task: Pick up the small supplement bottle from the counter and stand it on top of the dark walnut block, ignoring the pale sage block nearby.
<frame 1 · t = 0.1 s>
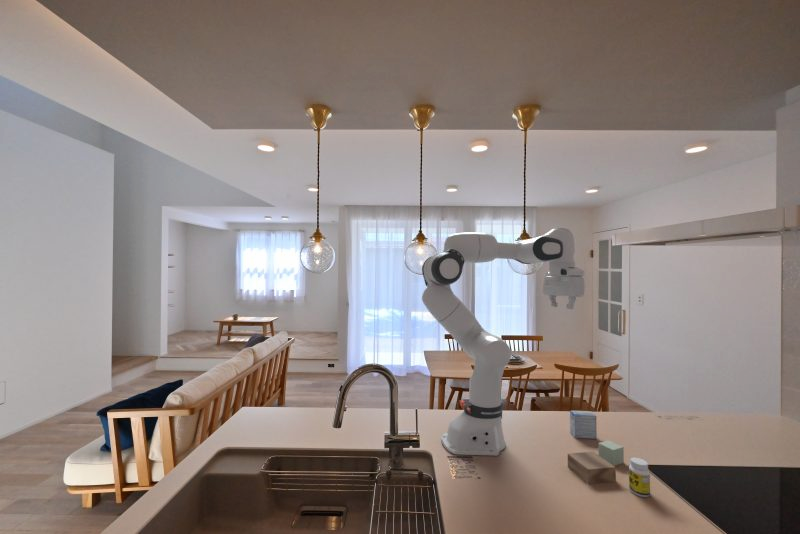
hand: (561, 308, 128), 48 cm above the counter, fingers open, 8 cm apart
supplement bottle: (639, 492, 93), on the counter
medicine box: (583, 436, 127), on the counter
walnut block: (590, 473, 102), on the counter
sage block: (611, 460, 110), on the counter
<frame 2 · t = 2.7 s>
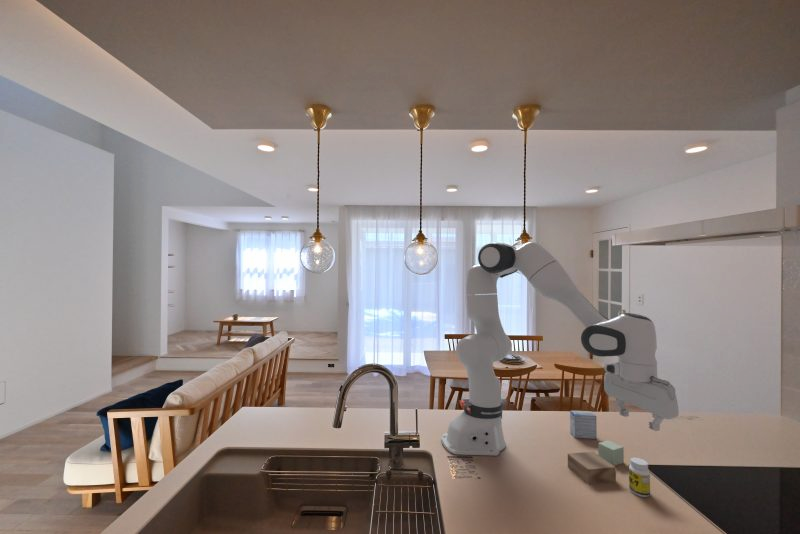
hand: (638, 422, 94), 19 cm above the counter, fingers open, 8 cm apart
nothing on the counter moved.
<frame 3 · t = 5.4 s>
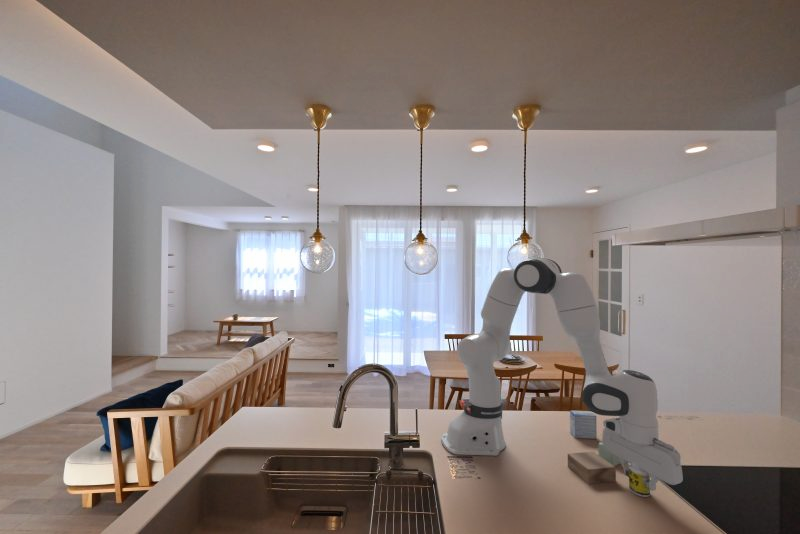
hand: (639, 482, 93), 3 cm above the counter, fingers closed on supplement bottle, 5 cm apart
supplement bottle: (639, 492, 93), on the counter, touching gripper
everything else where it was.
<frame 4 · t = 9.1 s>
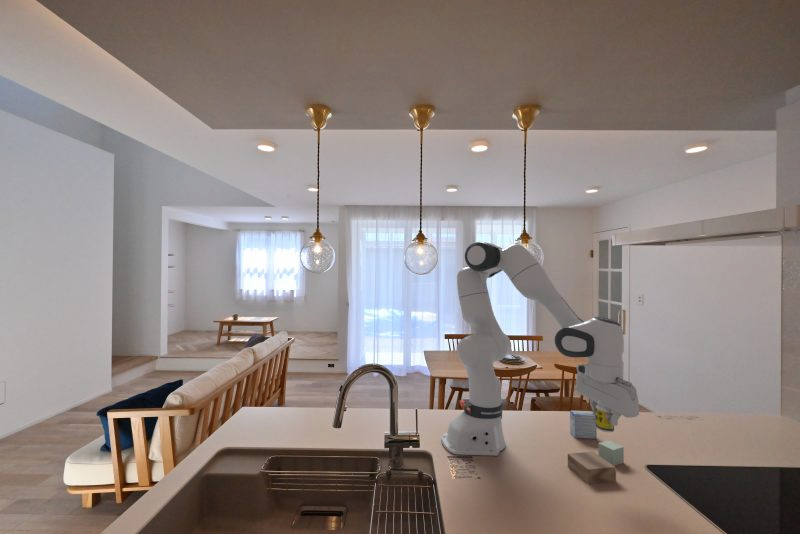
hand: (604, 420, 100), 17 cm above the counter, fingers closed on supplement bottle, 5 cm apart
supplement bottle: (604, 429, 100), point 14 cm above the counter, touching gripper
everything else where it was.
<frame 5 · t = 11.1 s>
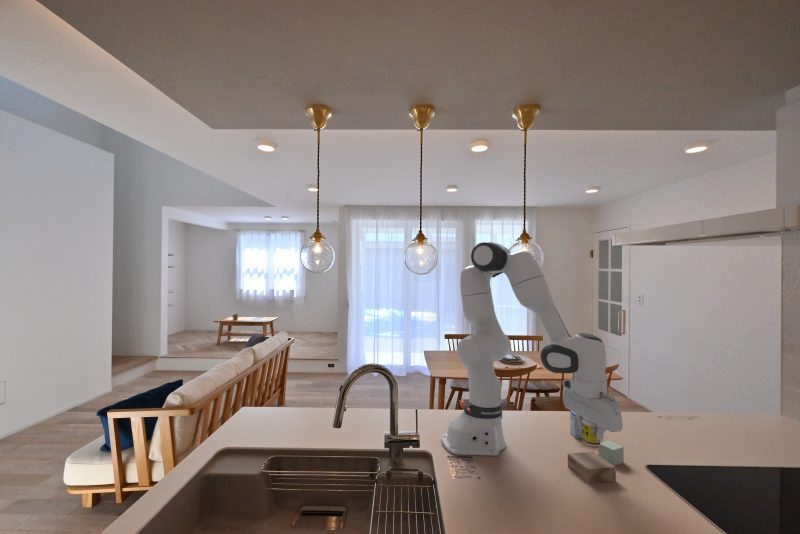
hand: (591, 434, 103), 12 cm above the counter, fingers closed on supplement bottle, 5 cm apart
supplement bottle: (591, 443, 102), point 9 cm above the counter, touching gripper
everything else where it was.
when the fingers open (7 cm above the counter, at t = 13.0 s): supplement bottle stays where it is, resting on walnut block.
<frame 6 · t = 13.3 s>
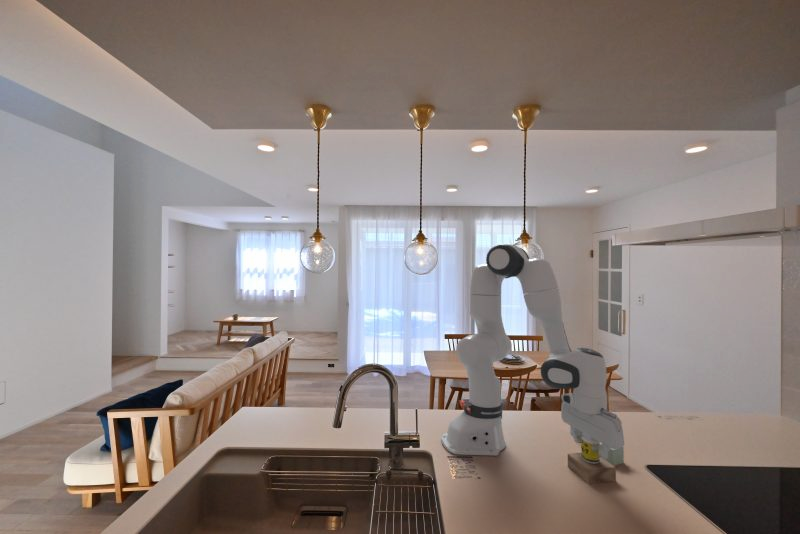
hand: (590, 449, 102), 7 cm above the counter, fingers open, 8 cm apart
supplement bottle: (590, 460, 102), point 4 cm above the counter, touching walnut block
everything else where it was.
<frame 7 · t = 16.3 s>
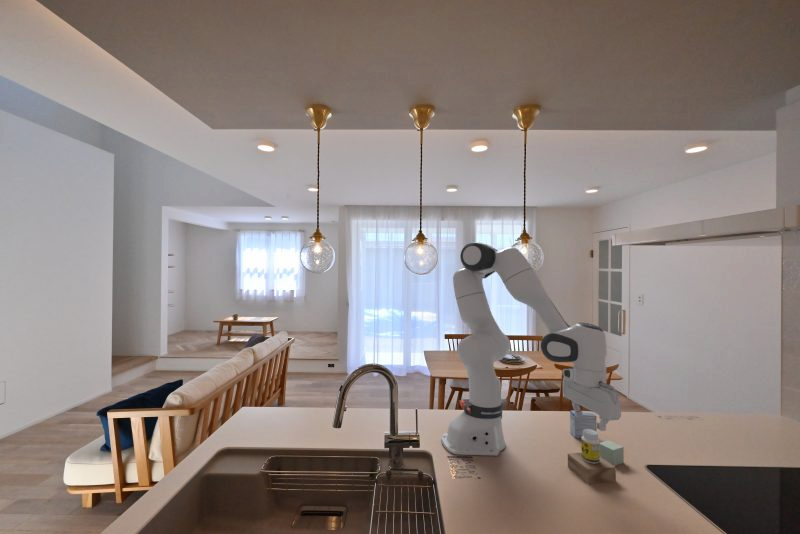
hand: (589, 423, 103), 15 cm above the counter, fingers open, 8 cm apart
nothing on the counter moved.
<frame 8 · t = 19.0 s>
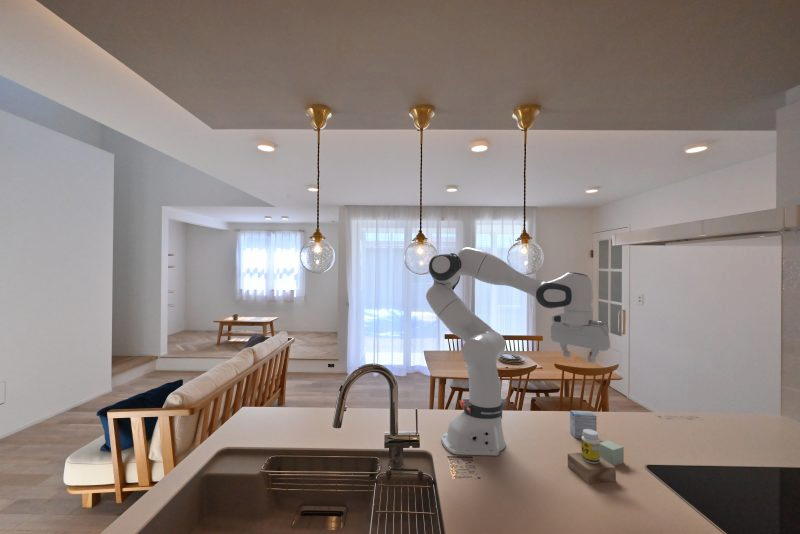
hand: (578, 359, 117), 31 cm above the counter, fingers open, 8 cm apart
nothing on the counter moved.
at the end: supplement bottle inside the target area on the walnut block (0.0 cm from its centre), point 3.8 cm above the walnut block's base; supplement bottle tilted 0°; the gripper is holding nothing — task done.
